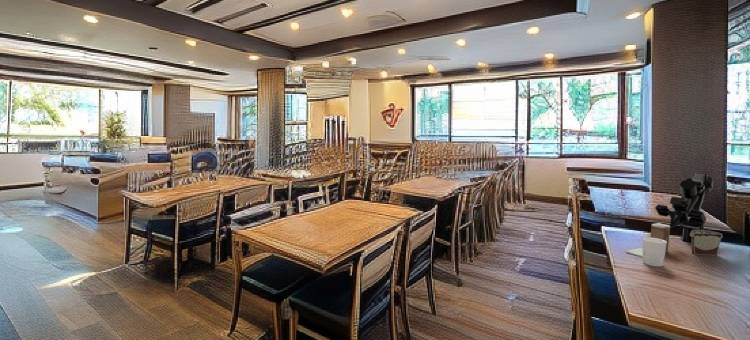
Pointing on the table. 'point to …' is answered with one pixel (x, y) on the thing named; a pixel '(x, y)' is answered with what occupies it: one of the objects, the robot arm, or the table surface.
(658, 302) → the table surface
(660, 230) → the walnut block
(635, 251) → the rubber mat
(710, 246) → the food container
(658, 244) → the white cup
